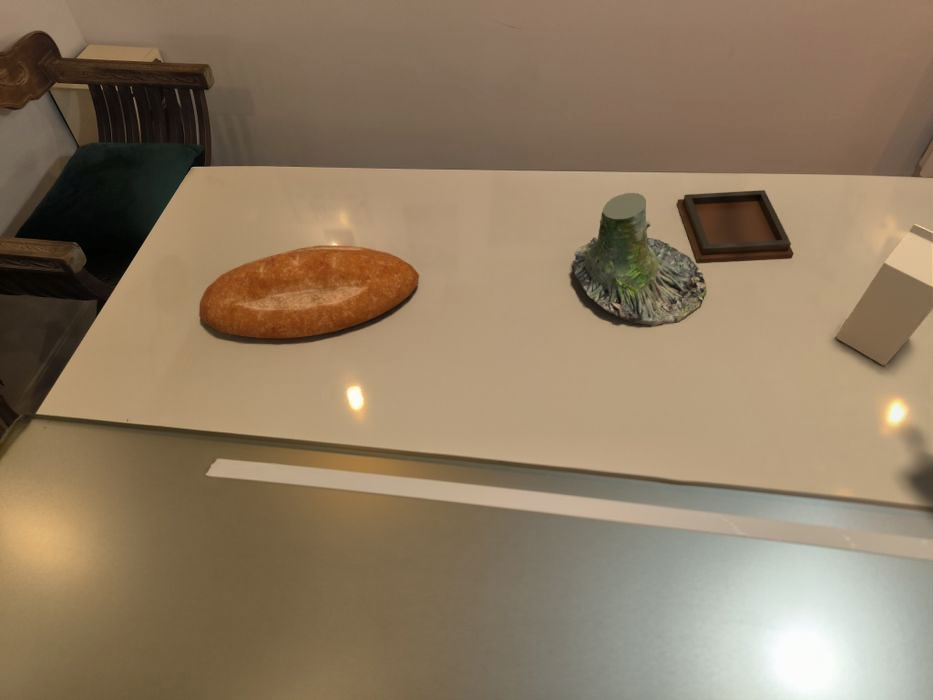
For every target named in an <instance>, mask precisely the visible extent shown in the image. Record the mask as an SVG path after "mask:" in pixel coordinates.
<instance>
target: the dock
mask: <svg viewBox="0 0 933 700" xmlns="http://www.w3.org/2000/svg"><path fill="white" fill-rule="evenodd" d="M676 201H677V202H676V205H677V208H678V212H679V214H680V217H681V220H682V222H683V226H684V229H685V231H686V234H687V237H688V240H689V243H690V246H691V248H692V252H693V254H694V255H693V256H694V258H695V261H696V263H697V264H701V263H702V264H703V263H704V264H705V263H719V262H720V263H721V262H739V261H759V260H777V259H778V260H781V259H792V258H793V256H794V254H795V253H794V251H793V249H792V247H791V245H792V243H791V241H790V239H789V237H788V234H787V232H786V230H785V228H784V226H783V224H782V222H781V219H780V218H779V216H778V215H777V212H776V210H775V208H774V206H773V204H772V202H771V200H770V198H769V196H768V194H767V192H766V190H765V189H759V190H744V191H741V190H740V191H725V192H723V191H722V192H708V193H691V194H690V193H689V194H684V196H683V198H682V199H681V198H680V199H677V200H676Z"/></svg>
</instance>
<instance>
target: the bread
mask: <svg viewBox="0 0 933 700" xmlns="http://www.w3.org/2000/svg"><path fill="white" fill-rule="evenodd" d="M419 279H420V274H419V273H418V271H417V270H416V269H415V268H414V266H413V265H412V264H410V263H409V262H407V261H405V260H403V259H402V258H400V257H398V256H396V255H394V254H391V253H389V252H385V251H381V250H375V249H372V248H368V247H361V246H352V245H336V244H335V245H333V244H332V245H330V244H329V245H313V246H307V247H301V248H297V249H292V250H289V251H285V252H281V253H278V254H274V255H270V256H265V257H262V258H259V259H256V260H253V261H249V262H246V263H244V264H241V265H239V266H236V267H234V268H233V269H231V270H227V272H224V273H222V274H221V275H220V276H219V277H217V278H216V279H215V280H214V281H213V282H212V283H210V284H209V285H208V286H207V287H206V289H205V290H204V292H203V294H202V296H201V298H200V301H199V312H198V317H199V318H200V319H201V321H202V322H203V323H205V324H206V325H208V326H209V327H211V328H213V329H214V330H217V331H218V332H220V333H223V334H228V335H233V336H234V335H235V336H239V337H247V338H248V337H249V338H257V339H259V338H260V339H295V338H296V339H297V338H303V337H311V336H318V335H323V334H328V333H333V332H337V331H340V330H344V329H348V328H350V327H353V326H357V325H360V324H363V323H365V322H367V321H370V320H372V319H375V318H376V317H377V318H378V317H379V316H381V315H382V314H384V313H386V312H388V311H390V310H392V309H393V308H395V307H396V306H398V305H399V304H400V303H402V302H403V301H404V300H405V299H406V298H408V297H409V296H410V295H411V294H412V293H413V291H414V290H415V289H416V287H417V286H418V285H419Z"/></svg>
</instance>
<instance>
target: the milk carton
mask: <svg viewBox="0 0 933 700" xmlns="http://www.w3.org/2000/svg"><path fill="white" fill-rule="evenodd" d="M932 311H933V231H932V230H931V229H928V228H925V227H923V226H921V225H919V224H917V223H914V224H913V225H912V226H911V228H910V229H909V231H908V232H907V233H906V235H905V236H904V237H903V239H902V240H901V241H900V242H899V243H898V244H897V246H896V247H895V248H894V249H893V250H892V252H891V253H890V254H889V256H887V258H886V259H885V261H884V262H883V264H882V265H881V267H880V268H879V270H878V271H877V273H876V274H875V276H874V278H873V279H872V280H871V282H870V283H869V285H868V286H867V288H866V289H865V291H864V293H863V294H862V295H861V297H860V299H859V300H858V301H857V303H856V305H855V307H854V308H853V309H852V311H851V313H850V314H849V315H848V317H847V318H846V320H845V322H844V323H843V324H842V326H841V327H840V329H839V331H838V332H837V334H836V335H835V338H836V339H837V340H839V341H840V342H842V343H843V344H845V345H847V346H849V347H851V348H852V349H854V350H856V351H857V352H859V353H861V354H863V355H865V356H866V357H868V358H870V359H872V361H875V362H876V363H878V364H880V365H882V366H886V365H887V363H888V362H890V360H891V359H892V358H893V357H894V356H895V355H896V354H897V352H899V350H900V349H901V348H902V347H903V346H904V345H905V344H906V343H907V342H908V340H910V338H911V337H912V336H913V334H914V333H915V332H916V331H917V330H918V328H919V327H920V326H921V325H922V323H923V322H924V321H925V319H926V318H928V316H929V315H930V314H931V312H932Z"/></svg>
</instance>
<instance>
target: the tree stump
mask: <svg viewBox="0 0 933 700" xmlns="http://www.w3.org/2000/svg"><path fill="white" fill-rule="evenodd" d="M646 209H647V200H646V198H645V196H644V195H643V194H640V193H639V192H626V193H621V194H619V195H616V196H613V197H612V198H610V200H608V201H607V202H606V203H605V204H604V206H603V208H602V211H601V216H600V220H599V230H598V235H597V238H596V237H595V236H594V237H592V239H591V240H590V242H588V243H587V244H586V245H583V246H579V247H578V248H577V249H576V250H575V252H574V260H572V264H573V268H574V274H575V277H576V278H577V280H578V281H579V283H580V285H581V286H582V289H583V290H584V291H585V293H586V295H587V296H588V297H589V298H590V299H592V300H593V302H595V303H596V304H597V305H598V306H599V307H601V308H602V309H604V310H605V311H606V312H608V313H610V314H612V315H614V316H615V317H618V318H619V319H622V320H624V321H626V322H628V323H634V324H640V325H647V326H652V327H656V326H659V325H662V324H675V323H680V322H682V321H683V320H684V319H685V318H687V317H688V316H690V315H691V314H693V313H694V312H696V311H697V310H699V309H700V308H701V306H702V304H703V301H704V298H705V297H706V295H707V293H708V291H707V284H706V281H705V278H704V274H703V272H702V271H701V270H700V268H699V267H698V266H697V264H696V263H695V262H694V260H693V259H692V258H691V257H690V256H689V255H687V254H685V253H684V252H681V251H679V250H678V249H677V248H675V247H674V246H671V244H669V243H667V242H664V241H662V240H661V239H656V238H653V237H648V228H649V227H651V222H650V221H649V220H647V210H646Z"/></svg>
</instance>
